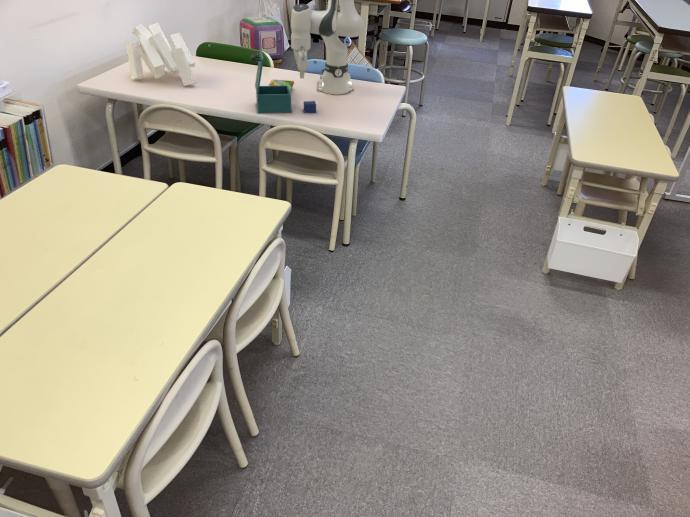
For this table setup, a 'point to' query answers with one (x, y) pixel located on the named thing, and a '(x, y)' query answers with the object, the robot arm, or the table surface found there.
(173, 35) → the pile of blocks
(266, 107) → the cooler
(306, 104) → the block
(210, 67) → the table surface
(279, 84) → the puzzle game
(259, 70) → the cooler lid
